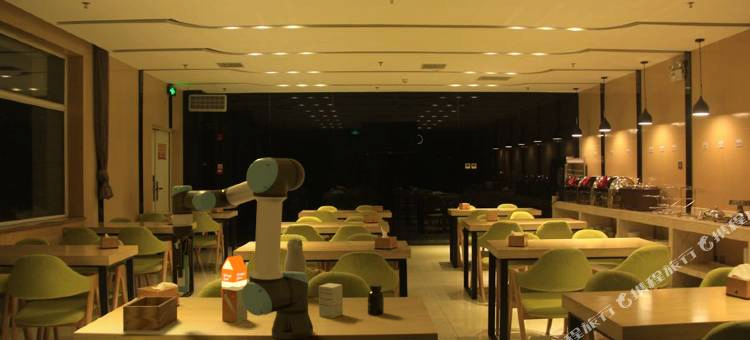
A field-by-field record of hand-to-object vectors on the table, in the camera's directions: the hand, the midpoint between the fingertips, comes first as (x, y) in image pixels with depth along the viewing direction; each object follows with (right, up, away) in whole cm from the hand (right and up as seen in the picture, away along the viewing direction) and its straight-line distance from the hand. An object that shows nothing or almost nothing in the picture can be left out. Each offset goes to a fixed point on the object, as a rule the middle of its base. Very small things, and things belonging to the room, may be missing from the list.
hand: (183, 284), depth 227 cm
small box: (+18, -16, +8) cm, 26 cm away
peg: (0, -3, 0) cm, 3 cm away
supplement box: (+57, -16, +14) cm, 61 cm away
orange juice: (+8, -16, +48) cm, 52 cm away
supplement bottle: (+75, -16, +17) cm, 79 cm away
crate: (-13, -16, +2) cm, 21 cm away
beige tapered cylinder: (+37, -16, +51) cm, 65 cm away
